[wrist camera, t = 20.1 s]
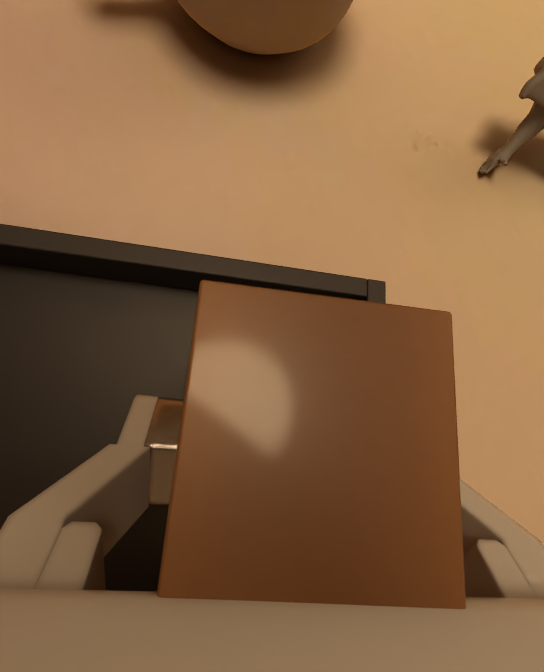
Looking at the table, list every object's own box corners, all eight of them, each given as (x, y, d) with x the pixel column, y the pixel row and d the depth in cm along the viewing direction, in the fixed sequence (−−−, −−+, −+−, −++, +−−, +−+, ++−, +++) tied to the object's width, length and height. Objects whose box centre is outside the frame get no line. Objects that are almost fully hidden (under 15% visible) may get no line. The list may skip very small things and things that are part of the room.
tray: (-176, 633, 12) (-274, 685, 10) (-48, 244, 16) (-96, 208, 13) (354, 634, 15) (385, 675, 12) (360, 301, 18) (386, 281, 16)
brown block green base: (175, 528, 14) (86, 744, 4) (197, 364, 15) (170, 242, 6) (311, 535, 14) (511, 737, 5) (318, 376, 16) (479, 286, 6)
